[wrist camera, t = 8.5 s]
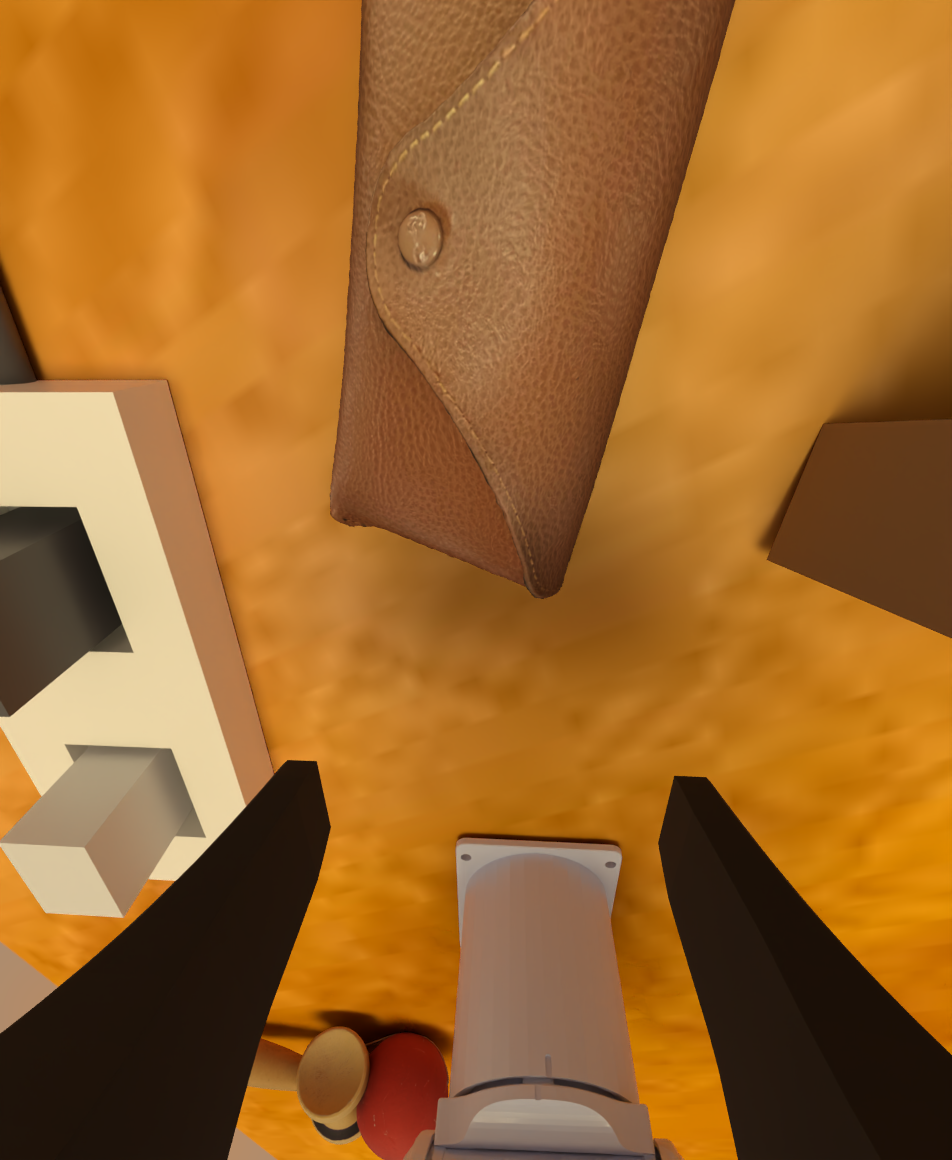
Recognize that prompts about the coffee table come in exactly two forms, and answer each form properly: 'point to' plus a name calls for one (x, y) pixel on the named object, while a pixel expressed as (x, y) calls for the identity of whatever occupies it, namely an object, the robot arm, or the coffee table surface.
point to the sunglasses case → (506, 259)
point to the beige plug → (100, 830)
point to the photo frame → (877, 517)
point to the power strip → (116, 596)
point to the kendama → (360, 1086)
